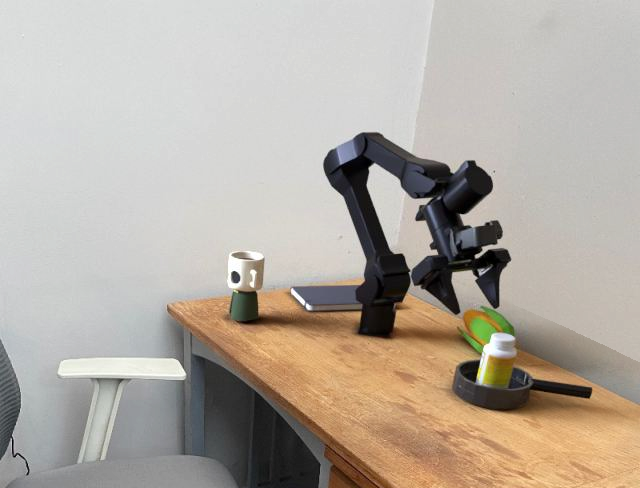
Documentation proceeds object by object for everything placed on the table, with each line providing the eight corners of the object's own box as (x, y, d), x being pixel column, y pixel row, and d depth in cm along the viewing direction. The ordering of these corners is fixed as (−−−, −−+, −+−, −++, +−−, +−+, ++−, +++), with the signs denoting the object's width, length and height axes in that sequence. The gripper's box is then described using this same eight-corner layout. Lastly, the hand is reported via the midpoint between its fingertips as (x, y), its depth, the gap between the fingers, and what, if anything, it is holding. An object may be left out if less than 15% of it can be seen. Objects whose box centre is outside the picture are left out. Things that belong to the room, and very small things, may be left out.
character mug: (218, 311, 165) (220, 248, 158) (249, 309, 167) (253, 247, 160) (236, 329, 156) (240, 264, 149) (269, 326, 159) (274, 262, 152)
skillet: (450, 403, 133) (455, 383, 131) (452, 374, 144) (456, 355, 142) (529, 415, 131) (535, 395, 129) (525, 385, 142) (531, 366, 140)
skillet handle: (529, 391, 134) (532, 380, 133) (528, 387, 136) (531, 376, 135) (589, 400, 133) (592, 389, 132) (588, 396, 134) (591, 385, 133)
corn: (496, 327, 144) (452, 292, 160) (484, 365, 148) (443, 328, 164) (531, 329, 146) (485, 295, 162) (519, 367, 150) (475, 330, 166)
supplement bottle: (512, 397, 136) (527, 341, 130) (485, 400, 134) (499, 343, 128) (493, 384, 140) (507, 329, 134) (467, 387, 138) (480, 331, 133)
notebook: (375, 290, 184) (289, 293, 178) (376, 284, 183) (290, 286, 177) (397, 308, 174) (308, 311, 168) (398, 301, 173) (308, 304, 167)
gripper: (434, 205, 126) (467, 293, 124) (516, 200, 134) (549, 282, 132) (396, 243, 135) (426, 325, 134) (474, 236, 144) (504, 313, 142)
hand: (477, 310), depth 135 cm, fingers open, 9 cm apart
